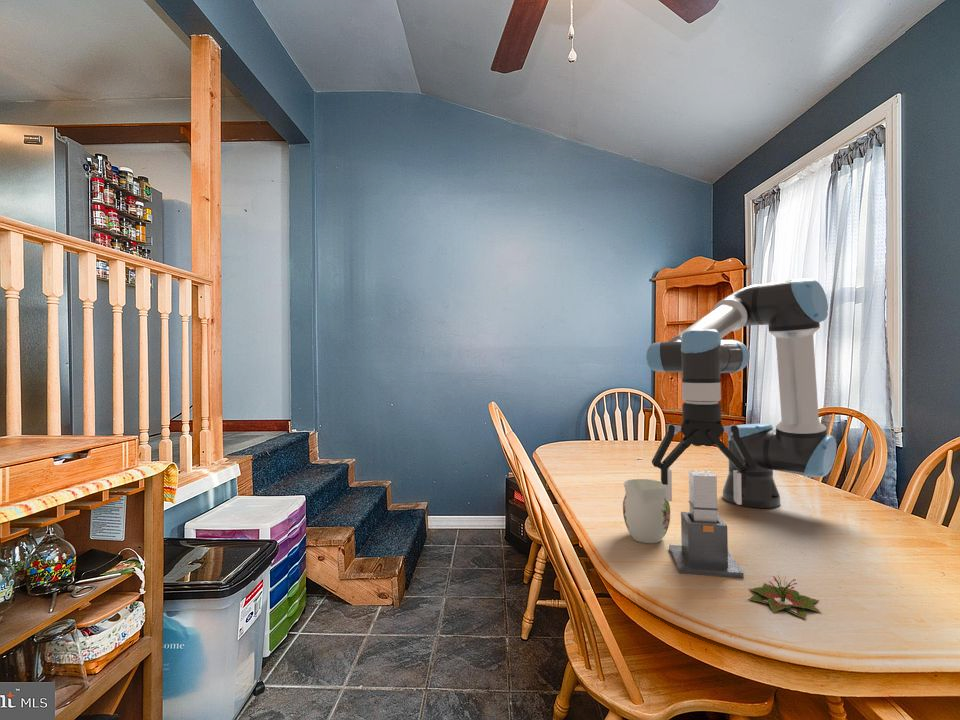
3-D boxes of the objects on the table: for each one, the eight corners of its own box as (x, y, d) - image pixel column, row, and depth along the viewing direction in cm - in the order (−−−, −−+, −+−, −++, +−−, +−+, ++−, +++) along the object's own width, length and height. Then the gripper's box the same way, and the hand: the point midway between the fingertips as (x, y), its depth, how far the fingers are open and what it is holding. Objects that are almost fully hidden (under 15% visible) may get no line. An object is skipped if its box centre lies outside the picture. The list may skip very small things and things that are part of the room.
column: (712, 553, 102) (711, 471, 102) (718, 562, 97) (717, 476, 97) (689, 551, 103) (688, 470, 103) (694, 560, 99) (693, 475, 98)
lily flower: (758, 581, 93) (757, 558, 93) (832, 604, 84) (831, 578, 84) (735, 603, 85) (734, 578, 85) (814, 631, 76) (813, 603, 76)
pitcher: (673, 527, 121) (672, 474, 121) (668, 554, 105) (667, 493, 105) (629, 521, 126) (628, 470, 126) (618, 546, 109) (617, 488, 109)
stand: (726, 553, 105) (725, 510, 105) (743, 578, 93) (742, 530, 93) (669, 549, 107) (668, 508, 107) (679, 572, 96) (678, 526, 96)
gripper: (759, 400, 101) (760, 498, 101) (638, 400, 107) (639, 493, 107) (772, 404, 94) (774, 509, 94) (642, 403, 99) (643, 503, 99)
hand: (702, 501), depth 100 cm, fingers open, 13 cm apart
